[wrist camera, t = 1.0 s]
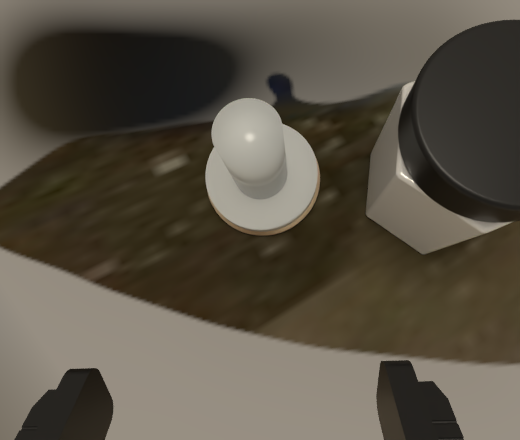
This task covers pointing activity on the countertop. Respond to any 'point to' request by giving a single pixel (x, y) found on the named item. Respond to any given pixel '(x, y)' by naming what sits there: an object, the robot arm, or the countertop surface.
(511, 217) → the jar
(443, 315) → the countertop surface
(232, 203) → the lid
